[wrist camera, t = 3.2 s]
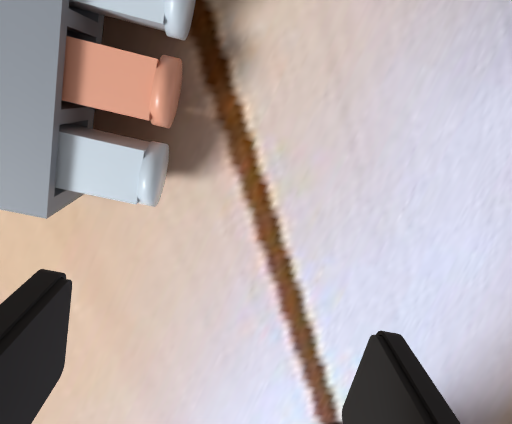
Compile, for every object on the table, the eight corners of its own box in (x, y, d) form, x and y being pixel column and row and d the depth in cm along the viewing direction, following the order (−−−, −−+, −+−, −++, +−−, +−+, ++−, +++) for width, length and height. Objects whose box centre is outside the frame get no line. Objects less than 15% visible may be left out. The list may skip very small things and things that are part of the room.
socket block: (113, -72, 24) (71, -127, 18) (85, 192, 29) (46, 218, 23) (-43, -117, 23) (-142, -191, 17) (-42, 166, 28) (-117, 186, 22)
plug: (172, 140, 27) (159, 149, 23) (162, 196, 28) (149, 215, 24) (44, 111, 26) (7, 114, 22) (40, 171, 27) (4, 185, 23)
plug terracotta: (185, 61, 25) (174, 55, 21) (174, 125, 27) (162, 131, 22) (49, 27, 24) (10, 13, 20) (45, 95, 26) (7, 95, 21)
